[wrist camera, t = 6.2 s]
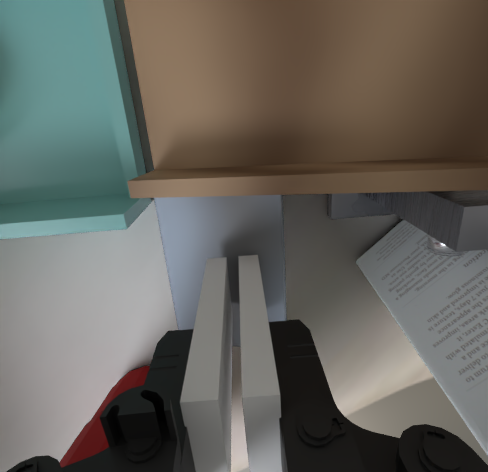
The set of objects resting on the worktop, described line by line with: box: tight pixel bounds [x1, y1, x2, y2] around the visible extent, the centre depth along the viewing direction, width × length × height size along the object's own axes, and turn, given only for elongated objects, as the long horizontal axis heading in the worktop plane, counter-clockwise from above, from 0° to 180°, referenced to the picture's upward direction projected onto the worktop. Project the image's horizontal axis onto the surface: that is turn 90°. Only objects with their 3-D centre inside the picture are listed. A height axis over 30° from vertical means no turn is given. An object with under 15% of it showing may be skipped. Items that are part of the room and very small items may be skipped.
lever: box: [124, 0, 488, 347], centre depth 9 cm, size 22×15×4 cm
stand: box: [328, 190, 488, 256], centre depth 11 cm, size 6×13×7 cm, turn 4°
